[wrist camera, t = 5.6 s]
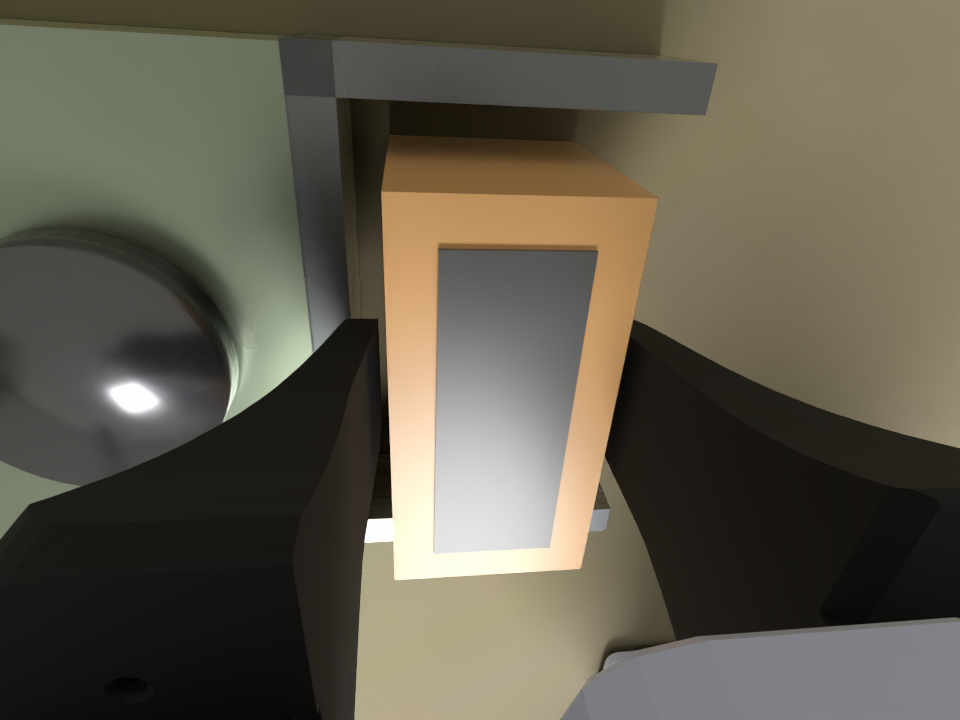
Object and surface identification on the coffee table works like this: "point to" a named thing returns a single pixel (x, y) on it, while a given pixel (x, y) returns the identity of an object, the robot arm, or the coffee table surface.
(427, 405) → the orange framed grey panel
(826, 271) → the coffee table surface
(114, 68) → the green slab
